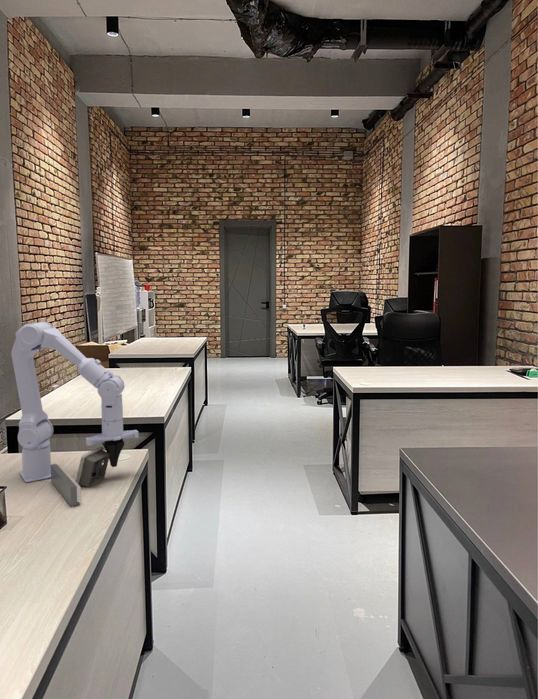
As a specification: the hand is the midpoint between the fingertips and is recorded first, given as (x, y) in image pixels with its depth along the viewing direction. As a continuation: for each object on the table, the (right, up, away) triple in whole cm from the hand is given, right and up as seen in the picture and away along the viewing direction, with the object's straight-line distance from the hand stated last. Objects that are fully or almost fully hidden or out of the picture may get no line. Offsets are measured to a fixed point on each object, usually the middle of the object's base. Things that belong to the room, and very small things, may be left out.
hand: (113, 465), depth 152 cm
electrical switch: (-5, -4, -3) cm, 7 cm away
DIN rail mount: (-10, -5, -11) cm, 16 cm away
